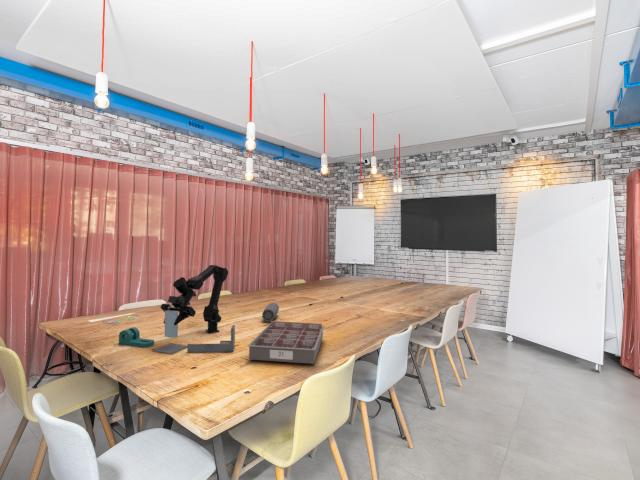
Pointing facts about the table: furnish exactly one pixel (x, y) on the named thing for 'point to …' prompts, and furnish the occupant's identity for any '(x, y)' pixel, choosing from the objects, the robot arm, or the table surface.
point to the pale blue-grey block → (171, 324)
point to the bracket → (134, 338)
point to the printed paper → (114, 320)
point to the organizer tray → (287, 342)
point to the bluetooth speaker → (270, 312)
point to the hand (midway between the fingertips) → (169, 324)
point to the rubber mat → (170, 348)
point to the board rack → (214, 345)
